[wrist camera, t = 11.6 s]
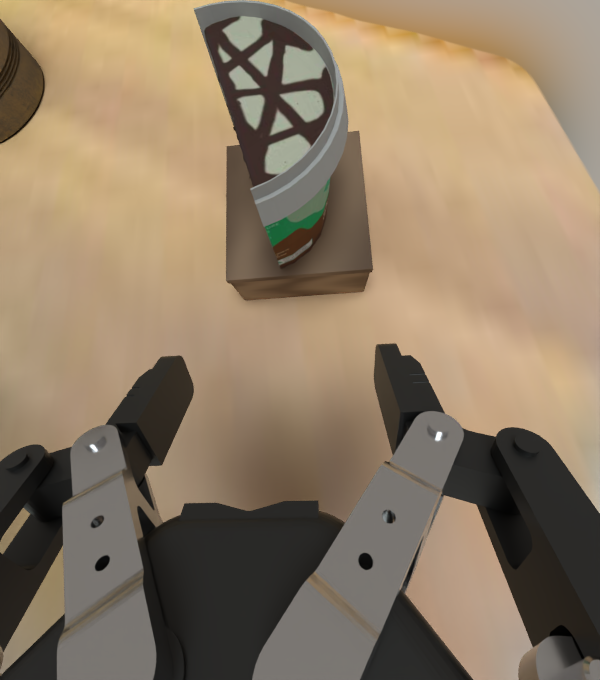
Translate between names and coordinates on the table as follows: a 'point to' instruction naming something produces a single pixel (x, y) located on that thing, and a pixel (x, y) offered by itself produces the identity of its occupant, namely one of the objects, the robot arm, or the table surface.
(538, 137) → the table surface
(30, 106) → the wooden container
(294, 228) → the food container
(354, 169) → the walnut block
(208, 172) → the table surface
